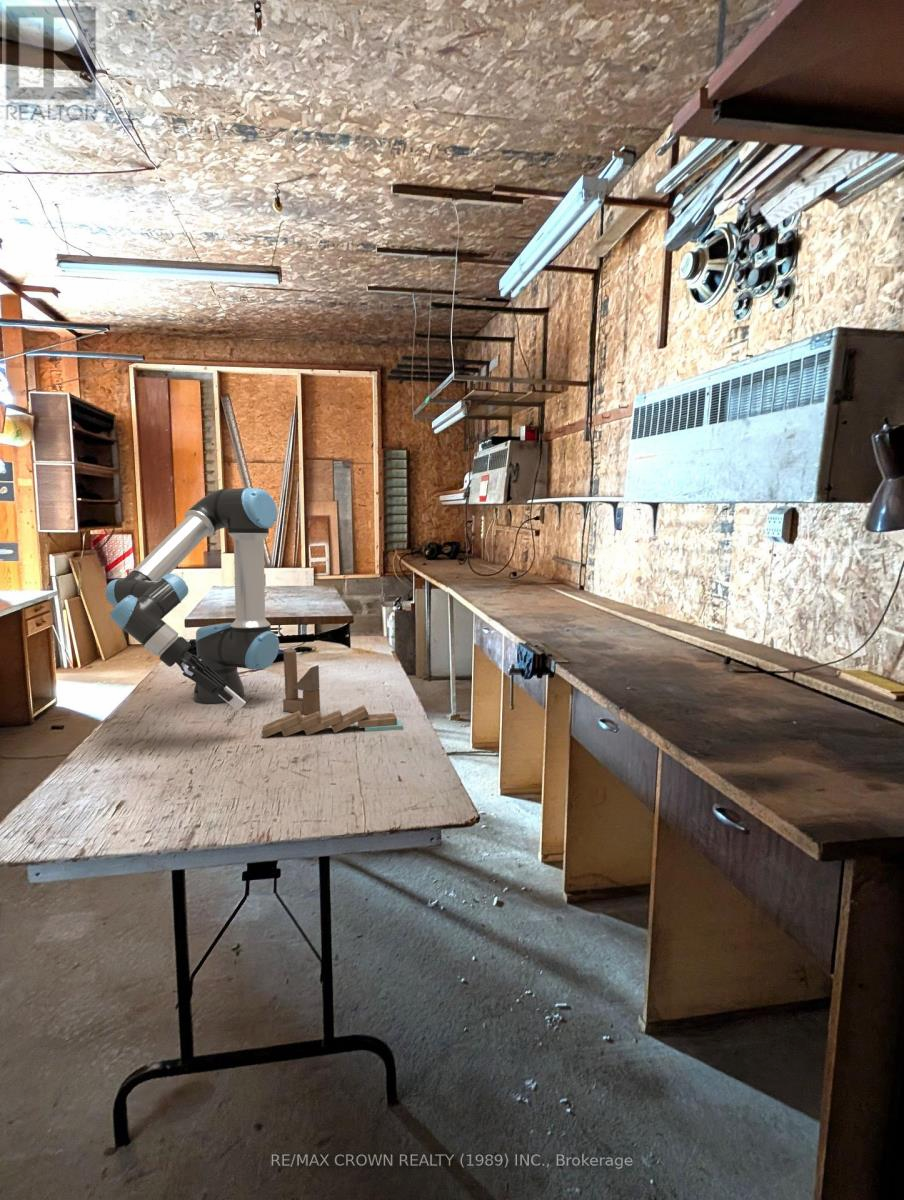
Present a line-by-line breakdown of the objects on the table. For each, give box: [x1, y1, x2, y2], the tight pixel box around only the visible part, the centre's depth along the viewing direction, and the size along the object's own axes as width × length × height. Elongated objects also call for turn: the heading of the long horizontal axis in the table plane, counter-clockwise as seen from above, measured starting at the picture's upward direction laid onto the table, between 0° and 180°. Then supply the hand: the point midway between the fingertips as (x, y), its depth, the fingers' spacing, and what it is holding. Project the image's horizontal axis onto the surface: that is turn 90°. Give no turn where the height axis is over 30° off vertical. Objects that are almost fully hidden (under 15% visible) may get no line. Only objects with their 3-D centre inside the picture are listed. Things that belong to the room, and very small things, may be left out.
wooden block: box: [282, 649, 321, 716], centre depth 189 cm, size 4×11×18 cm, turn 66°
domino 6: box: [364, 719, 404, 732], centre depth 176 cm, size 5×2×10 cm
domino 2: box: [281, 711, 322, 738], centre depth 172 cm, size 5×2×10 cm
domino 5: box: [357, 712, 398, 729], centre depth 176 cm, size 5×2×10 cm
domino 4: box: [330, 704, 370, 734], centre depth 174 cm, size 5×2×10 cm
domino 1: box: [261, 711, 303, 738], centre depth 171 cm, size 5×2×10 cm
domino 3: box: [303, 709, 343, 736], centre depth 173 cm, size 5×2×10 cm
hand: (241, 706), depth 168 cm, fingers closed
